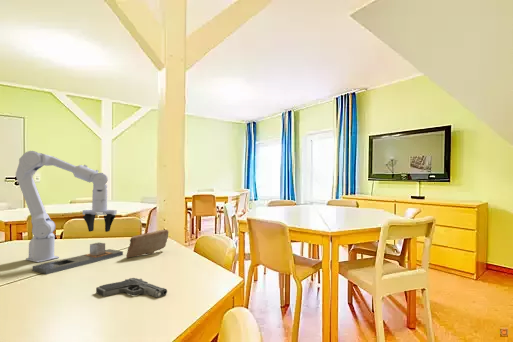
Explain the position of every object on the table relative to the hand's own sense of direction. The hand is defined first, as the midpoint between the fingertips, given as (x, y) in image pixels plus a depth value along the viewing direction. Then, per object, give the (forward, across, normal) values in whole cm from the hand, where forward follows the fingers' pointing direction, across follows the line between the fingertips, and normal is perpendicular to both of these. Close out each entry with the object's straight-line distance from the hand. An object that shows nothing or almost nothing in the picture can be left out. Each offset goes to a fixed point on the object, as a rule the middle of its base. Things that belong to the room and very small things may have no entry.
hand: (99, 231), depth 129 cm
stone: (+10, +22, +1) cm, 24 cm away
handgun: (+11, +38, -42) cm, 57 cm away
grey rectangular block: (+10, +4, -7) cm, 13 cm away
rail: (+10, +1, -12) cm, 16 cm away
